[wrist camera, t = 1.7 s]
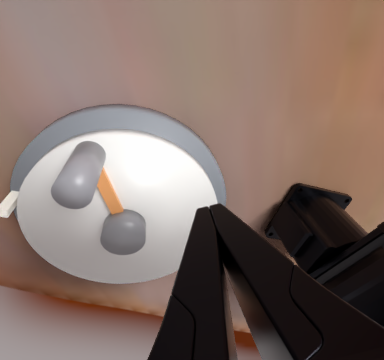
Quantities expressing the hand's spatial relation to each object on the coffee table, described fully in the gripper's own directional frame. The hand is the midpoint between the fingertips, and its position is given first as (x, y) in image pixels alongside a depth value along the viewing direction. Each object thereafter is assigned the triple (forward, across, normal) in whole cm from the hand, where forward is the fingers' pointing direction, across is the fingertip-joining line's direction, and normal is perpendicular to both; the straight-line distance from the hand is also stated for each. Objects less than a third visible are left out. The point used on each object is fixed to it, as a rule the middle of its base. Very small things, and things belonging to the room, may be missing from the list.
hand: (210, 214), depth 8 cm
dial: (+9, +6, +6) cm, 12 cm away
